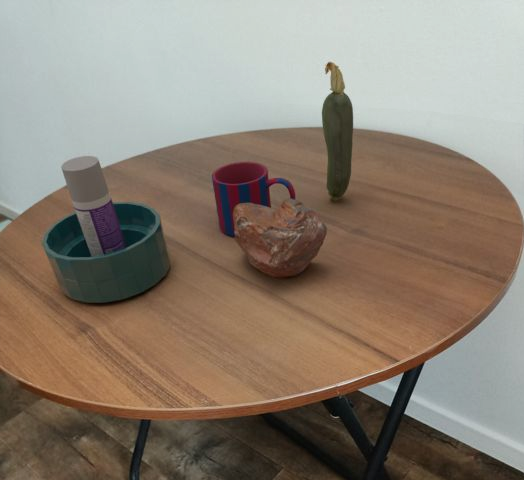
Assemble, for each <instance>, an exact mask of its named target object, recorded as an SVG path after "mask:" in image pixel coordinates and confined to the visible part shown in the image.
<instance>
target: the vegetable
mask: <svg viewBox="0 0 524 480" xmlns="http://www.w3.org/2000/svg"><path fill="white" fill-rule="evenodd" d="M339 67H340V66H338V65H336V63H334V62H332V61H328V62H327V63H326V64H325V67H324V72H325V73H324V74H325V75H327V74H328V73H329V72H330V77H329V78H330V79H329V81H330V88H329V91H332V92H330V93H329V94H328V95H327V96H325V98H324V100H323V104H322V109H321V122H322V123H321V124H322V130H323V138H324V142H325V145H326V151H327V167H326V168H327V169H326V190H327V193H328V196H329V199H330V200H333V202H336V201H338V200H339V199H341V197H343V196H344V195H345V194H346V192H347V190H348V188H349V184H350V180H351V176H352V158H353V157H352V156H353V137H354V136H353V135H354V110H353V109H354V108H353V103H352V101H351V99H350V97H349V95H348V94H347V93H345V89H346V84H345V81H344V76H343V73H342V71H341V69H340V68H339Z"/></svg>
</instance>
